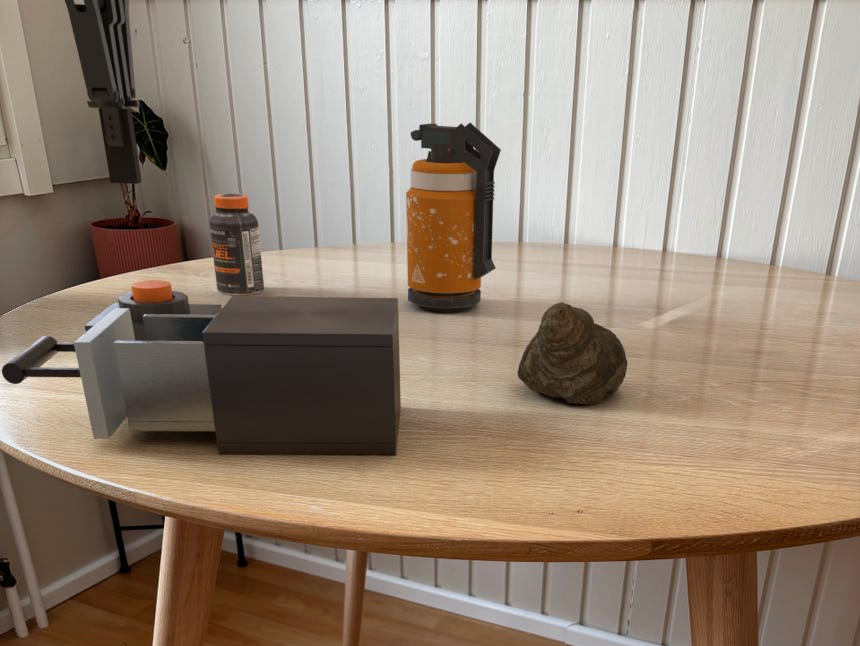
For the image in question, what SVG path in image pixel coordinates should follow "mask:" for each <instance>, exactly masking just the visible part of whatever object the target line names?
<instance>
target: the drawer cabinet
mask: <svg viewBox="0 0 860 646" xmlns="http://www.w3.org/2000/svg"><path fill="white" fill-rule="evenodd" d="M399 323H400V319H399V298H398V297H346V296H345V297H342V296H341V297H338V296H336V297H335V296H331V297H330V296H269V295H267V296H266V295H265V296H264V295H263V296H262V295H261V296H260V295H259V296H258V295H257V296H255V295H243V296H235V295H231V297H230V298H229V299H228V300H227V301H226V303H225V304H224V305H223V306H222V309H221V310H220V311H219V313H218V314H217V315H216V316H215V317H214V319H213V320H212V321H211V322H210V324H209V325H208V326H207V327H206V329H205V330H204V331H203V332H202V337H203V344H204V351H205V358H206V365H207V373H208V380H209V388H210V395H211V402H212V410H213V417H214V425H215V439H216V447H217V454H218V455H300V456H301V455H304V456H305V455H306V456H307V455H308V456H309V455H310V456H311V455H316V456H319V455H321V456H324V455H325V456H327V455H328V456H336V455H339V456H345V455H346V456H397V448H398V437H399V428H400V418H401V417H400V416H401V407H402V403H401V401H402V400H401V397H402V396H401V365H400V364H401V362H400V361H401V360H400V324H399Z"/></svg>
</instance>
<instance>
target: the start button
mask: <svg viewBox="0 0 860 646" xmlns="http://www.w3.org/2000/svg"><path fill="white" fill-rule="evenodd" d="M130 286H131V287H130V288H131V293H133V299H134V301H137V302H161V301H168V300H171V299H173V295H172V291H173V290H172V289H173V288H172V283H171V282H170V281H168V280H167V281H166V280H160V279H159V280H158V279H152V280H140V281H136V282H133V283H132V284H131V285H130Z"/></svg>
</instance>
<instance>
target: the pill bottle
mask: <svg viewBox="0 0 860 646" xmlns="http://www.w3.org/2000/svg"><path fill="white" fill-rule="evenodd" d="M248 199H249V198H248V196H247V195H246V194H243V193H218V194H215V195H214V196H213V201H214V208H215V212H214V213H213V214H212V215H211V216H210V217H209V220H208V225H209V233H210V240H211V248H212V257H213V266H214V273H215V274H214V275H215V283H216V289H217V291H218V292H219V293H220V294H222V295H227V296H254V295H257V294H260V293H262V292H263V291H264V290H265V282H264V272H263V263H262V262H263V261H262V251H261V240H260V232H259V221H258V218H257V216H256V215H254V214H253V213H251V212H249V205H250V204H249V200H248Z"/></svg>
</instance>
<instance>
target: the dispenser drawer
mask: <svg viewBox="0 0 860 646" xmlns="http://www.w3.org/2000/svg"><path fill="white" fill-rule="evenodd" d="M215 316H216V315H184V314H145V315H144V316H143V321H144V327H145V333H146V339H147V341H135V337H134V331H133V325H132V320H131V314H130V309H129V308H115V309H114V310H113V311H111V312H110V313H109V314H108V315H107V316H105V317H104V318H103V319H102V320H100V321H99V322H98V323H97V324H96V325H94V326H93V327H92V328H91V329H90V330H88V331H87V332H86V331H85V333H83V334H82V335H81V336H79V337H78V338H77V339H75V341H73V342H58V341H57V339H55V338H54V337H52V336H50V335H43V336H42V337H39V338H38V340H36V341H34V342H33V343H32V344H30V345H29V346H28V347H26V348H25V349H24V350H23V351H21V352H20V353H18V354H17V355H16V356H14V357H12V358H11V360H9V361H8V362H7V363H5V364H4V365H3V366H2V367H1V375H2V377H3V379H4V380H5V381H6V382H8V383H9V384H12V385H18V384H21V383H22V382H24V381H25V380H26V379H27V378H80V380H81V384H82V389H83V394H84V398H85V403H86V408H87V412H88V417H89V423H90V427H91V432H92V437H93V439H94V440H110V438H111V437H112V436H113V435H114V434H115V433H116V432H117V430H118V429H119V428H120V426H121V425H122V424H123V423H124V422H125V420H126V419H127V423H128V428H129V432H215V425H214V417H213V410H212V402H211V395H210V388H209V380H208V373H207V365H206V358H205V351H204V344H203V337H202V332H203V331H204V330H205V329H206V327H207V326H208V325H209V324H210V322H211V321H212V320H213V319H214V317H215ZM59 352H60V353H75V356H76V360H77V365H78V367H50V366H49V367H47V366H46V367H42V366H43V365H44V364H46V363H47V362H48V361H50V360H51V359H52V358H53V357H54V356H56V355H57V354H58V353H59ZM215 433H216V432H215Z"/></svg>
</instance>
